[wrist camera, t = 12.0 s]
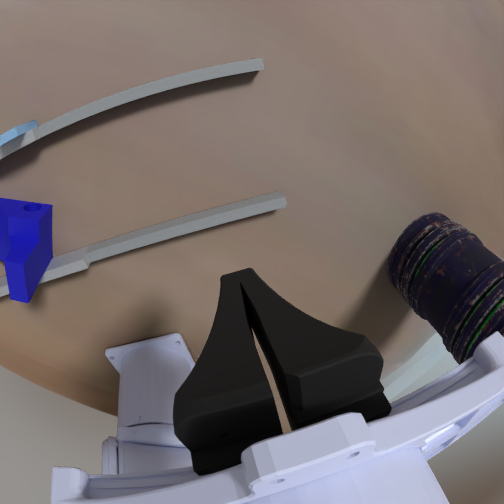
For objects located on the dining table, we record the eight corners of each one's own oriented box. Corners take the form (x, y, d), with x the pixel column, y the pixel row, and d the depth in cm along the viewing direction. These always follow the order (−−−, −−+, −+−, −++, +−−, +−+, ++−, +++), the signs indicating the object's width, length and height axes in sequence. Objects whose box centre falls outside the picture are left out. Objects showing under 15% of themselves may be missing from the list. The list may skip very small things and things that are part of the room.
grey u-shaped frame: (281, 200, 23) (290, 211, 22) (-26, 295, 20) (-34, 308, 19) (257, 59, 18) (265, 56, 16) (-74, 199, 15) (-86, 208, 13)
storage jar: (411, 302, 34) (484, 392, 21) (370, 269, 29) (464, 382, 17) (462, 240, 31) (549, 315, 18) (432, 192, 26) (550, 276, 14)
